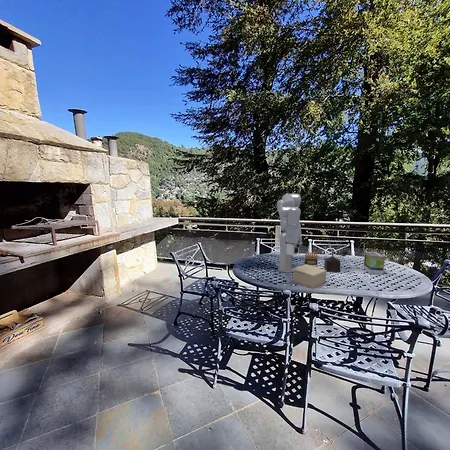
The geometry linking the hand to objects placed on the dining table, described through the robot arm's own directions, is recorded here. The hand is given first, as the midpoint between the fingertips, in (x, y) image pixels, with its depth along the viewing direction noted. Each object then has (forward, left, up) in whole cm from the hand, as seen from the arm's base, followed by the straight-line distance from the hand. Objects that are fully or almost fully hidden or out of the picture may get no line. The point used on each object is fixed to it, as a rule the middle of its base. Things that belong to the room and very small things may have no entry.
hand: (292, 252), depth 172 cm
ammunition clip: (-17, +52, -23) cm, 60 cm away
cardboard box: (+6, +12, -23) cm, 27 cm away
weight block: (0, 0, -1) cm, 1 cm away
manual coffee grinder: (+5, +52, -23) cm, 58 cm away
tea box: (+26, +73, -23) cm, 81 cm away
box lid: (+6, +12, -15) cm, 20 cm away
